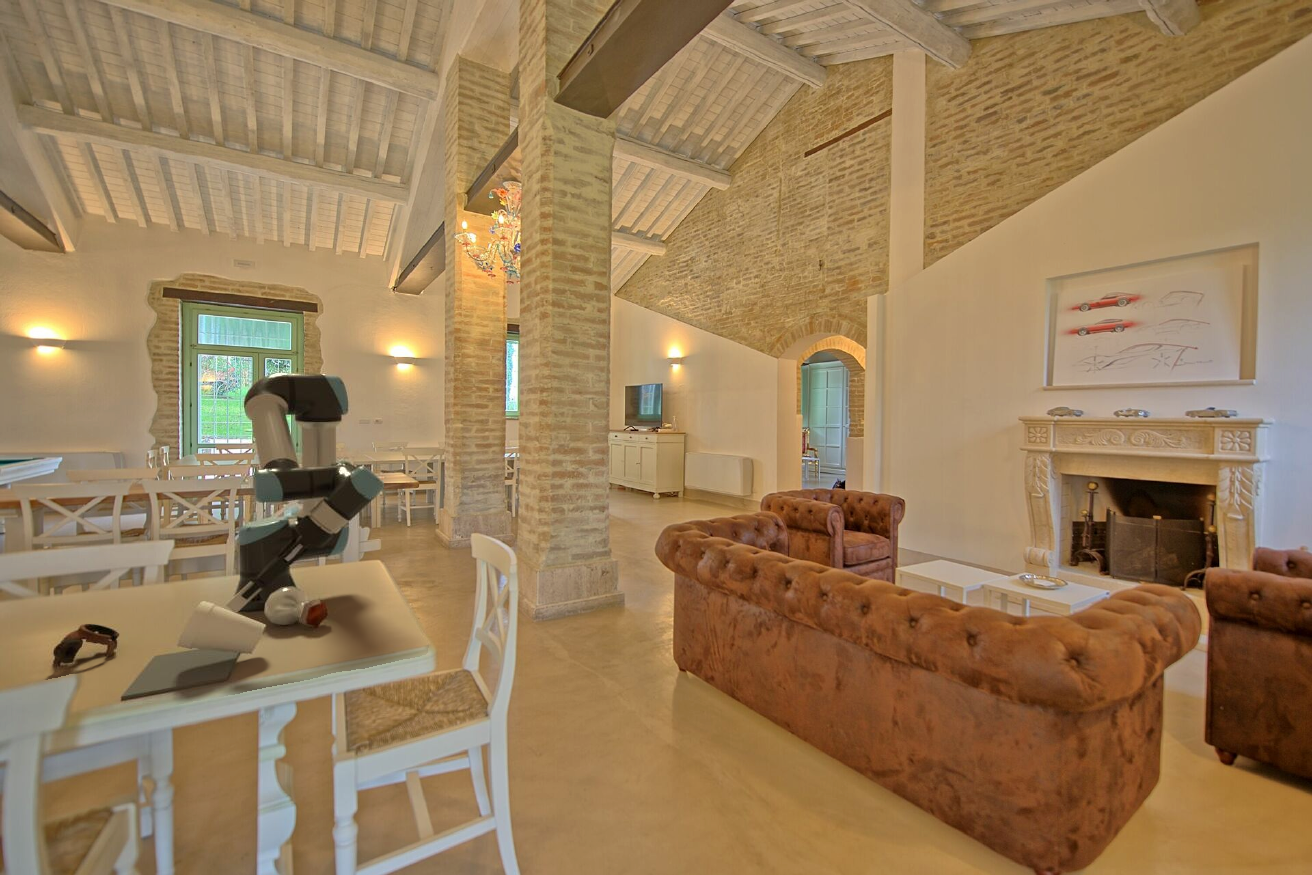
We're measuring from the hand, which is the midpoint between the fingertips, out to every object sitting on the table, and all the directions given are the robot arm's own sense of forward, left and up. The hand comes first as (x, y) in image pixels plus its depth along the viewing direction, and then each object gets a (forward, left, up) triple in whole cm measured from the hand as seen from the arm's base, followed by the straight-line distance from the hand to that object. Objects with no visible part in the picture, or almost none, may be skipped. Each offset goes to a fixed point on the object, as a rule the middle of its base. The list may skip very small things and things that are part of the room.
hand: (231, 608), depth 122 cm
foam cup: (+2, +4, -8) cm, 9 cm away
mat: (-4, -6, -12) cm, 14 cm away
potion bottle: (-12, +18, -12) cm, 25 cm away
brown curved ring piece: (-30, -17, -12) cm, 37 cm away
